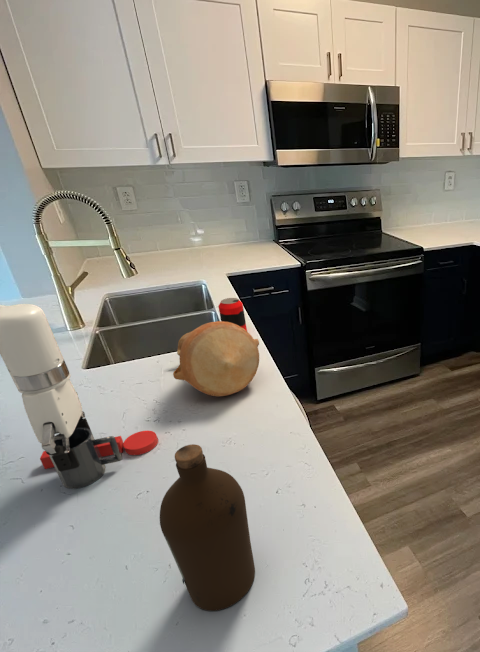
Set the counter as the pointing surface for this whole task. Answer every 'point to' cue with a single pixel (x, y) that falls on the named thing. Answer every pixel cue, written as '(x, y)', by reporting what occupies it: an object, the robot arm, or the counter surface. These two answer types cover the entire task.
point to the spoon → (132, 446)
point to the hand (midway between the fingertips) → (76, 451)
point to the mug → (86, 458)
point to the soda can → (232, 312)
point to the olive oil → (208, 532)
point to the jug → (217, 358)
